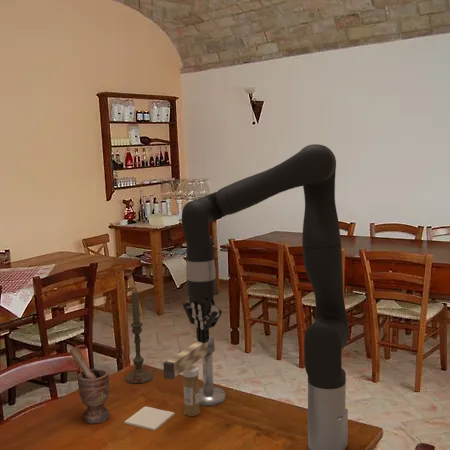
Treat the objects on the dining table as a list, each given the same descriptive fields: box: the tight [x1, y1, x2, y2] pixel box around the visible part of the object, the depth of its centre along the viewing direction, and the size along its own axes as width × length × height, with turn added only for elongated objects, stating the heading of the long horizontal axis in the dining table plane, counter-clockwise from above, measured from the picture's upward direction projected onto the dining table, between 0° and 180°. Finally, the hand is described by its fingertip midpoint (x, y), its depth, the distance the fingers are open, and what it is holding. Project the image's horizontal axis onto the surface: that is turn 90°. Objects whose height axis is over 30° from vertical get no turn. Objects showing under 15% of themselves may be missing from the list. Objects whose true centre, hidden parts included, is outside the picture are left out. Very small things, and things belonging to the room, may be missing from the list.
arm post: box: [199, 353, 226, 407], centre depth 172 cm, size 10×10×14 cm
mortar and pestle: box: [69, 346, 110, 424], centre depth 161 cm, size 12×9×20 cm
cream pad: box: [124, 405, 176, 432], centre depth 161 cm, size 10×10×1 cm
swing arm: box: [162, 334, 216, 381], centre depth 161 cm, size 24×4×4 cm, turn 153°
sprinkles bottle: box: [182, 365, 201, 417], centre depth 163 cm, size 5×5×14 cm
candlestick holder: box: [124, 289, 154, 385], centre depth 186 cm, size 9×9×30 cm
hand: (202, 341), depth 149 cm, fingers closed
